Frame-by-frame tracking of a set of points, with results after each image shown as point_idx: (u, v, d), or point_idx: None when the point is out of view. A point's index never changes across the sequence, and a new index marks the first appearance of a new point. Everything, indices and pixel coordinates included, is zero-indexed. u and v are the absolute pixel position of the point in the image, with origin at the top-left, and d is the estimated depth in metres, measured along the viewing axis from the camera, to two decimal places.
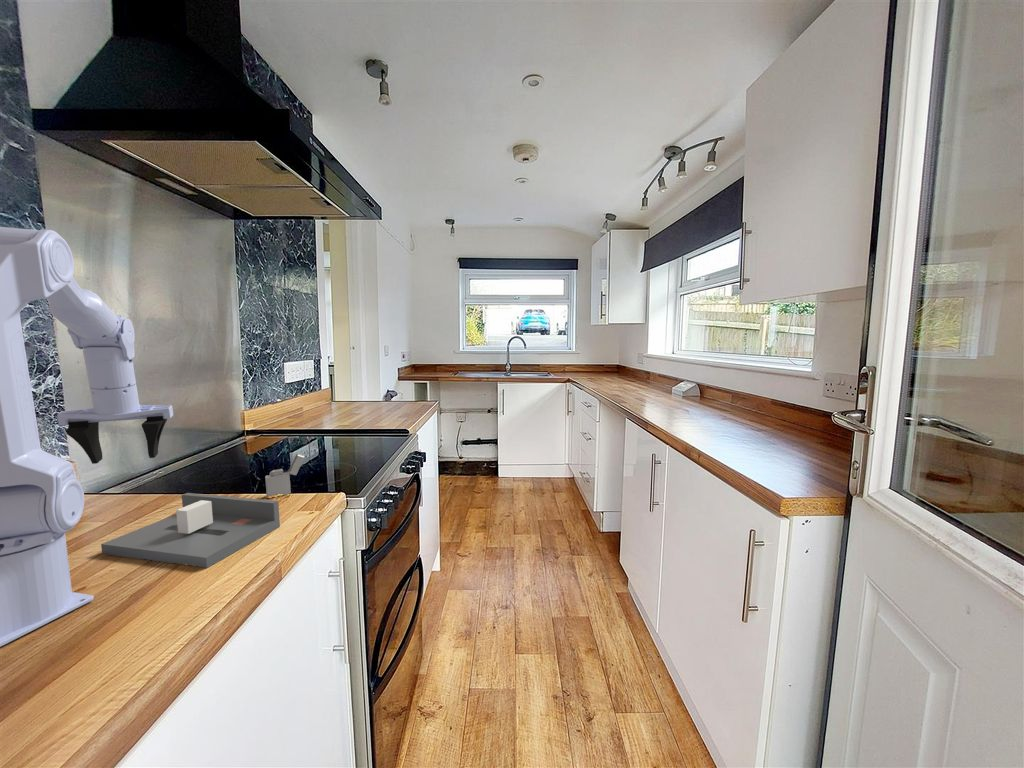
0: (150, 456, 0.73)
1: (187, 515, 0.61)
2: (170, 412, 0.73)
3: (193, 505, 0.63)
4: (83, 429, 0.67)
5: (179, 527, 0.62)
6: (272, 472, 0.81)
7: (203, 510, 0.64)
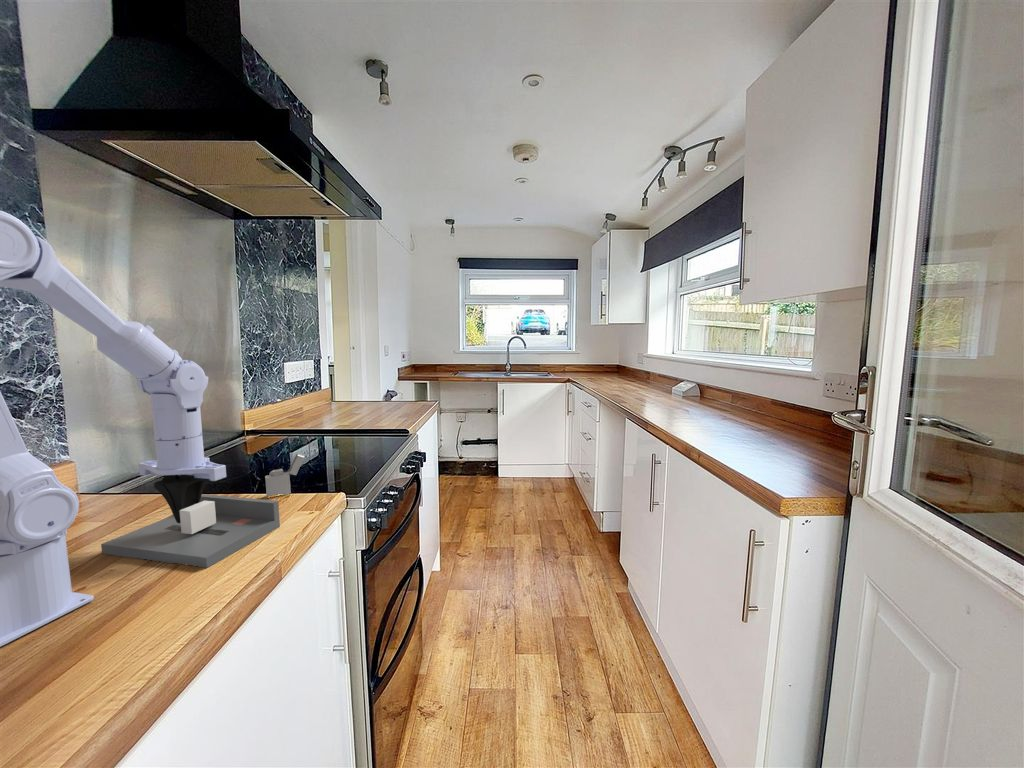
0: None
1: (190, 515, 0.61)
2: (217, 473, 0.61)
3: (196, 505, 0.63)
4: None
5: (182, 527, 0.61)
6: (272, 472, 0.81)
7: (206, 511, 0.63)
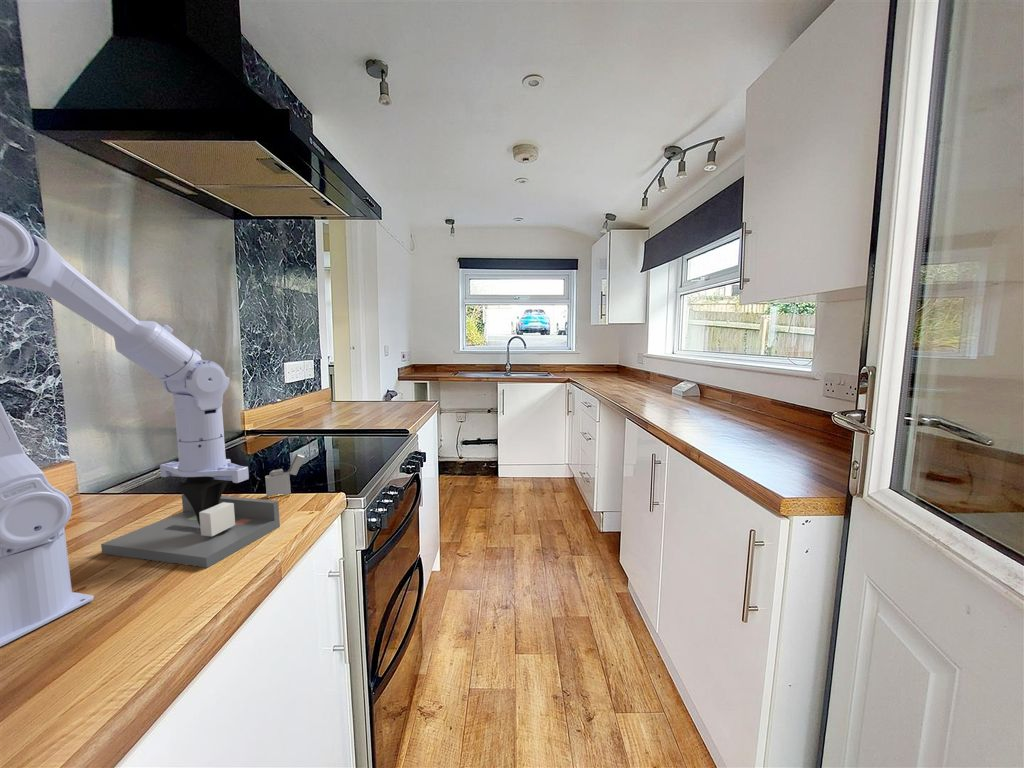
0: (199, 523, 0.62)
1: (210, 518, 0.60)
2: (240, 475, 0.60)
3: (216, 507, 0.62)
4: None
5: (202, 530, 0.61)
6: (272, 472, 0.81)
7: (225, 512, 0.63)
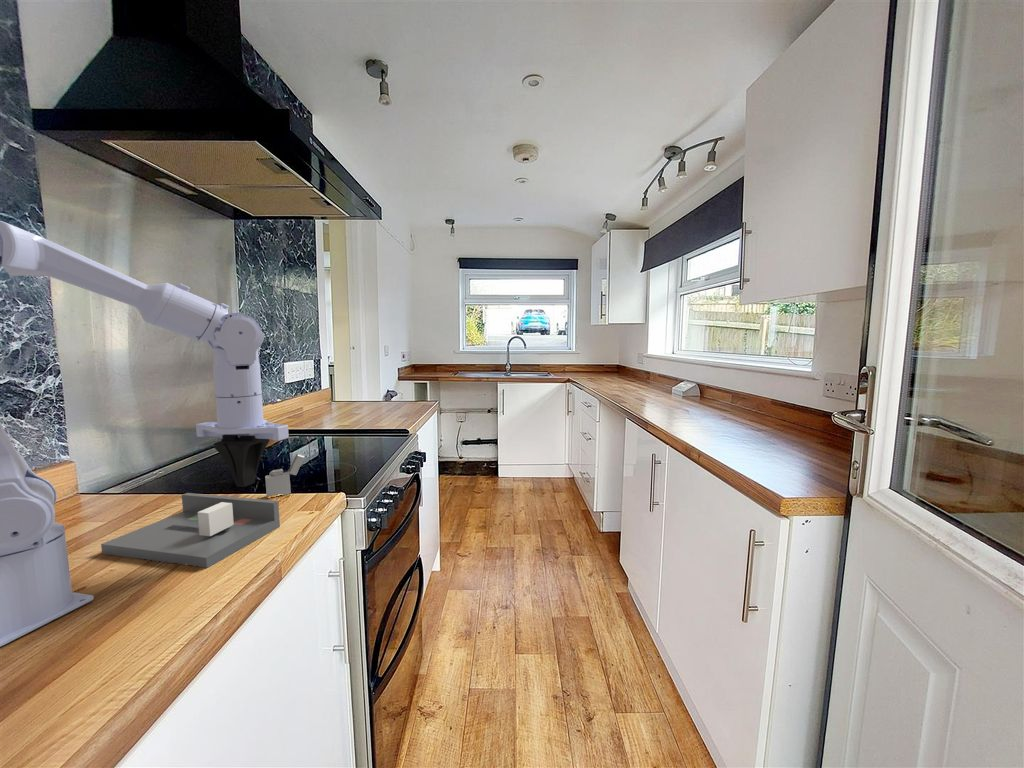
0: (240, 484, 0.60)
1: (209, 517, 0.60)
2: (280, 433, 0.58)
3: (214, 507, 0.62)
4: (226, 444, 0.58)
5: (201, 529, 0.61)
6: (272, 472, 0.81)
7: (224, 512, 0.63)
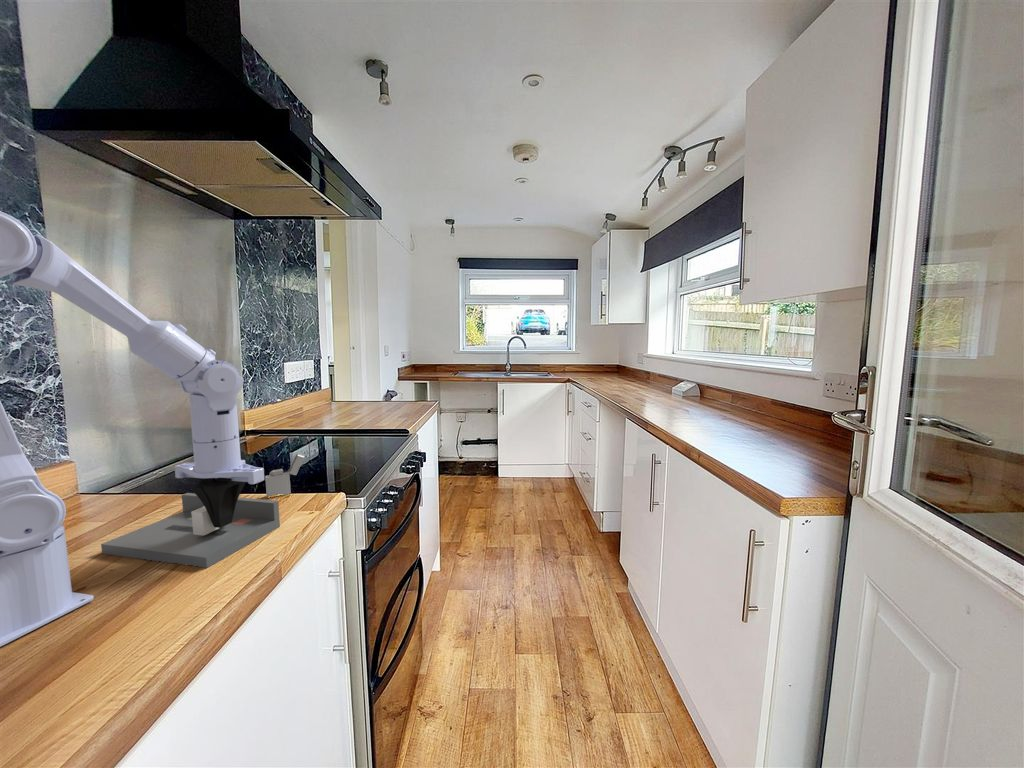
0: (217, 525, 0.61)
1: (202, 517, 0.61)
2: (255, 477, 0.59)
3: None
4: None
5: (194, 529, 0.61)
6: (272, 472, 0.81)
7: None
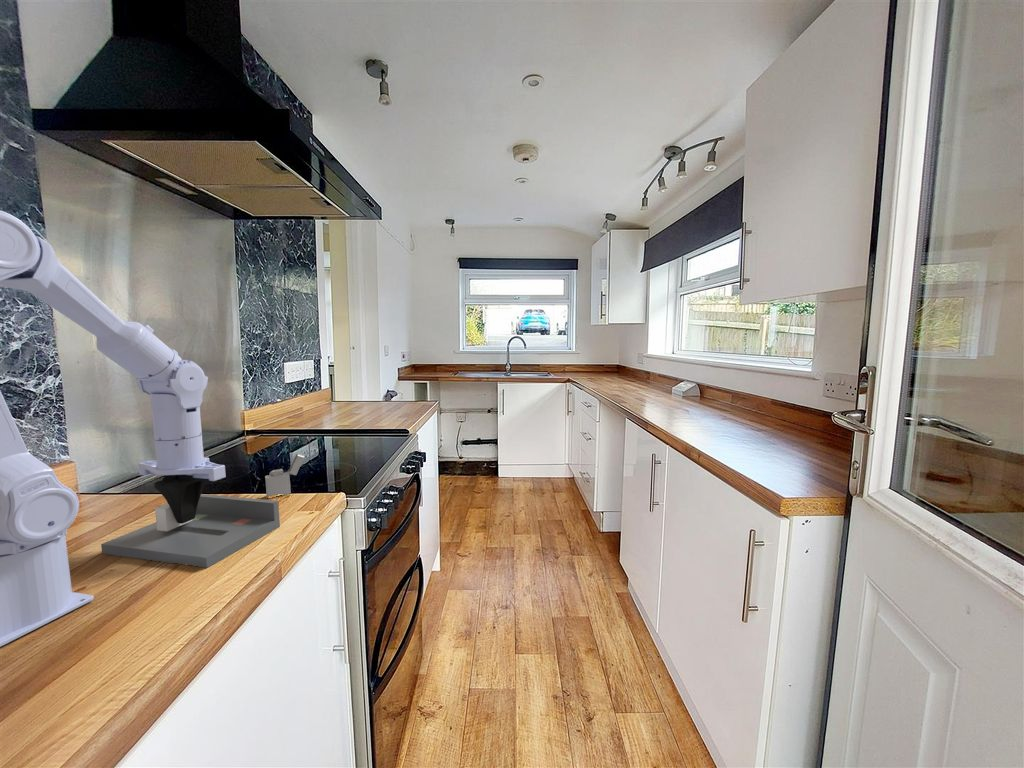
0: (179, 521, 0.63)
1: (165, 513, 0.62)
2: (216, 473, 0.61)
3: None
4: None
5: (158, 525, 0.62)
6: (272, 472, 0.81)
7: None
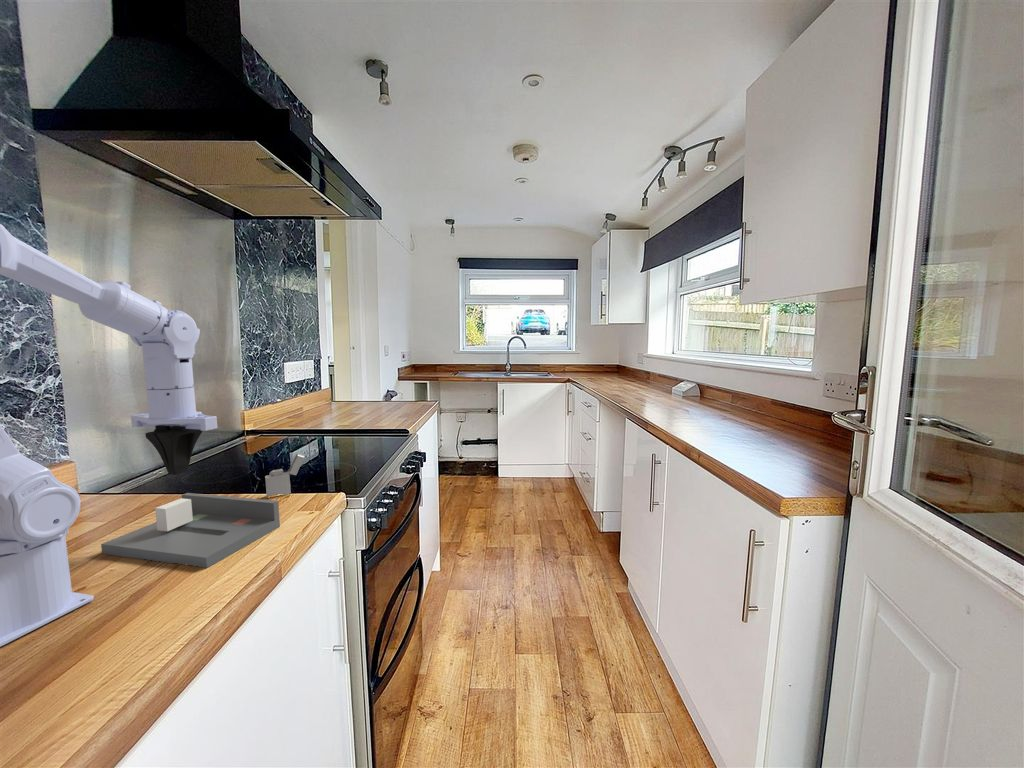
0: (172, 472, 0.63)
1: (166, 513, 0.62)
2: (208, 424, 0.61)
3: (172, 503, 0.64)
4: None
5: (158, 525, 0.62)
6: (272, 472, 0.81)
7: (182, 508, 0.64)
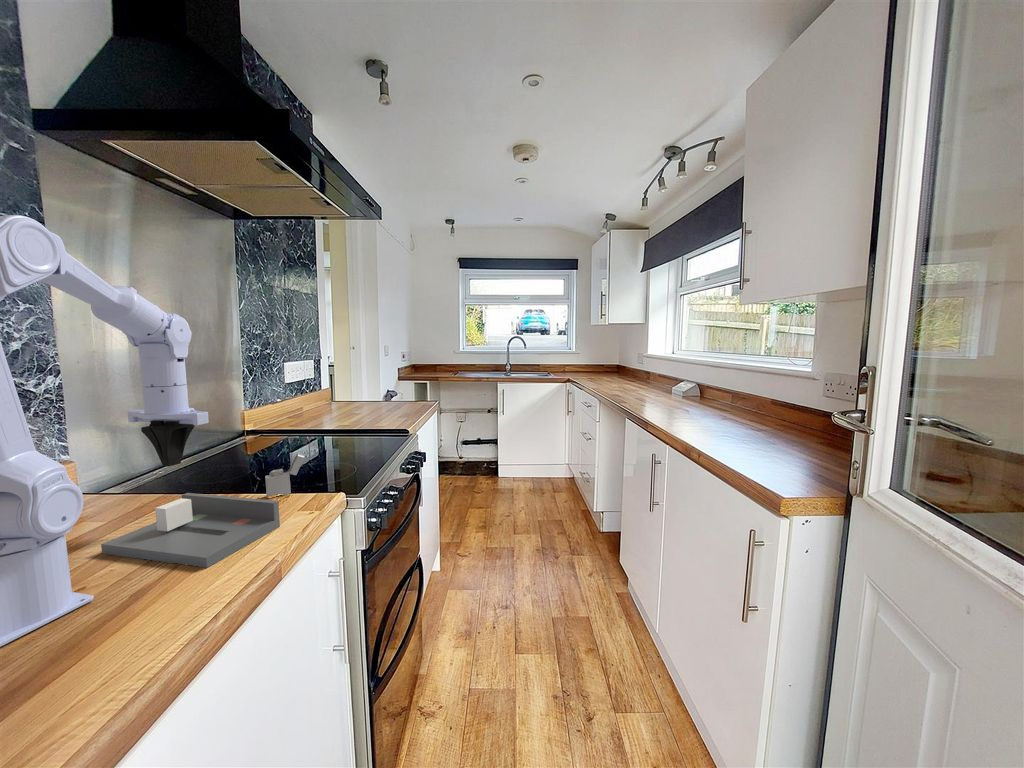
0: (166, 464, 0.67)
1: (166, 513, 0.62)
2: (199, 418, 0.66)
3: (172, 503, 0.64)
4: (152, 428, 0.66)
5: (158, 525, 0.62)
6: (272, 472, 0.81)
7: (182, 508, 0.64)
